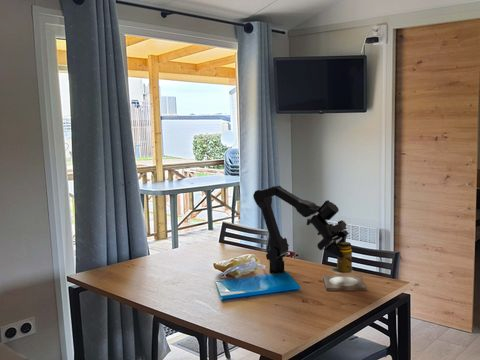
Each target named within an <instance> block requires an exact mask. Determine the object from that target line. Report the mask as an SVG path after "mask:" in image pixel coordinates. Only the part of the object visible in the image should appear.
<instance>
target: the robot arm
mask: <svg viewBox="0 0 480 360" xmlns="http://www.w3.org/2000/svg"><path fill="white" fill-rule="evenodd" d="M252 196H253V197H252V198H253V200H254V202H255V204H256V205H257V207H259V209H260V210H261V213H262V216H263V219H264V223H265V226H266V229H267V232H268V236H269V239H270V240H269V251H268V252H267V253H266V255H265V256H266V260H267V261H268V262H269V269H268V270H269V273H270V274H273V273H274V274H282V273H283V274H284V271H285V260H284V258H285V257H286V255H287V253H288V251H289V246H290V245H289V243H288V239H287V238H286V237H284V238H283V237H282V235H281V233H280V230H279V227H278V224H277V223H278V222H277V220H276V217H275V214H274V211H273V208H272V203H273V197H274V196H275V197H277V198H279V199H280V200H282V201H284V202H285V203H287V204H288V205H290V206H292V207H293V208H295V210H296V212H297V213H298V214H299V215H300V216H301V217H304V218H307V219H306V221H307V222H306V226H309V225H311V226H313V227H314V229H315V230H316V232H317V236H321V238H322V239H321V240H320V241H319V242H318V243H317V246H316V247H317V249H318V250H319V251H326V252H328V253H330V254H332V255H334V256H336V257H337V256H338V257H340V258H343V255H342V253H341V252H340V250H339V249H338V243H339V242H347V238H348V237H347V236H348V235H349V232H348V230H347V223H346V222H345V220H343V219H342V220H339V221H337V224H334V225H333V223H329V222H328V221H330V220H331V219H332V218H333V217H335V215H336V214H337V213H339V210H340V209H339V207H338V206H337V204H335V203H333V202H331V201H330V200H328V199H327V200H325V201H324V202H323V203H322V205H321V206H320V205H317V204H316V203H314V202H313V201H310V200H307V199H302V198H300V197H298V196H296V195H295V194H294V193H292V192H290V191H288V190H287V189H285V188H283V187H282V186H281V185H279V184H278V185H273V186H271V187H269V188H263V189H262V188H261V189H257V190H255V191H254V192H253V195H252ZM311 216H312V217H311ZM308 217H310V218H308Z"/></svg>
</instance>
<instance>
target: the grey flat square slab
mask: <svg viewBox="0 0 480 360" xmlns="http://www.w3.org/2000/svg"><path fill="white" fill-rule="evenodd" d="M322 280H323V283H324V287H325V290H326V292H327V291H331V292H332V291H335V292H336V291H341V292H342V291H367V286H366V284H365V282H364V281H363V278H362V277H361V275H359V274H358V275H356V274H355V275H349V274H348V275H341V274H338V275H337V274H336V275H322Z"/></svg>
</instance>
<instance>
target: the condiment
mask: <svg viewBox="0 0 480 360" xmlns="http://www.w3.org/2000/svg"><path fill="white" fill-rule="evenodd" d="M338 249H339V250H340V252H341V253H342V255H343V258H340V257H338V256H336V260H337V261H336V262H337V263H336V266H337V267H333V268H331V267H330V268H329V269H330V271H332V272H333V273H334V274H336V275H337V274H338V275H341V274H351V273H352V274H354V273H355V271H354V270H353V263H352V262H353V250H352V244H351V242H349V241H346V242H339V243H338Z"/></svg>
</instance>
